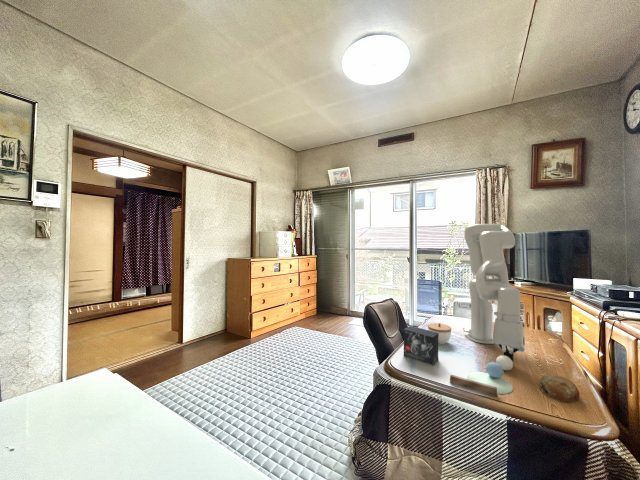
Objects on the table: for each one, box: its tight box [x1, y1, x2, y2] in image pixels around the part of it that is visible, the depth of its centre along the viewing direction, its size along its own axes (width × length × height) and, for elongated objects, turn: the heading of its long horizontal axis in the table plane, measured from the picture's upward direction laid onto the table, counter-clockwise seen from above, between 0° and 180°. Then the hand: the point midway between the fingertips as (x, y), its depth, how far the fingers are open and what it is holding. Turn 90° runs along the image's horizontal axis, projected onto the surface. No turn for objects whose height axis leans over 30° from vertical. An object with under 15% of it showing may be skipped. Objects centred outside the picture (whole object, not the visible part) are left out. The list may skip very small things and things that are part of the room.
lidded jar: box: [427, 322, 452, 345], centre depth 132 cm, size 11×11×9 cm
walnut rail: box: [449, 374, 498, 397], centre depth 91 cm, size 14×1×2 cm, turn 54°
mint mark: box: [466, 371, 514, 395], centre depth 94 cm, size 14×14×1 cm
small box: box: [403, 325, 439, 366], centre depth 114 cm, size 13×7×12 cm, turn 46°
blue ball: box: [485, 361, 505, 378], centre depth 98 cm, size 6×6×6 cm
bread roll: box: [539, 373, 581, 404], centre depth 88 cm, size 10×10×8 cm
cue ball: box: [495, 354, 514, 371], centre depth 104 cm, size 6×6×6 cm
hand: (508, 361), depth 107 cm, fingers closed
